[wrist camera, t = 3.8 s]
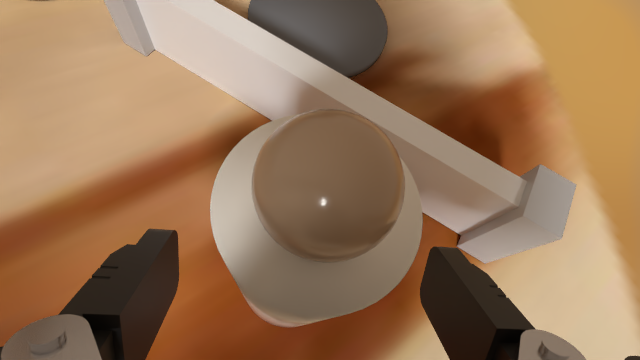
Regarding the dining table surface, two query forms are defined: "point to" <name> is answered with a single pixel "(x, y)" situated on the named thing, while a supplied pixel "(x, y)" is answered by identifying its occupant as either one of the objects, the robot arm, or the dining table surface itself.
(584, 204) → the dining table surface
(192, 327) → the dining table surface
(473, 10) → the dining table surface
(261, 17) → the coaster
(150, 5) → the rail
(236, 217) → the shaker
